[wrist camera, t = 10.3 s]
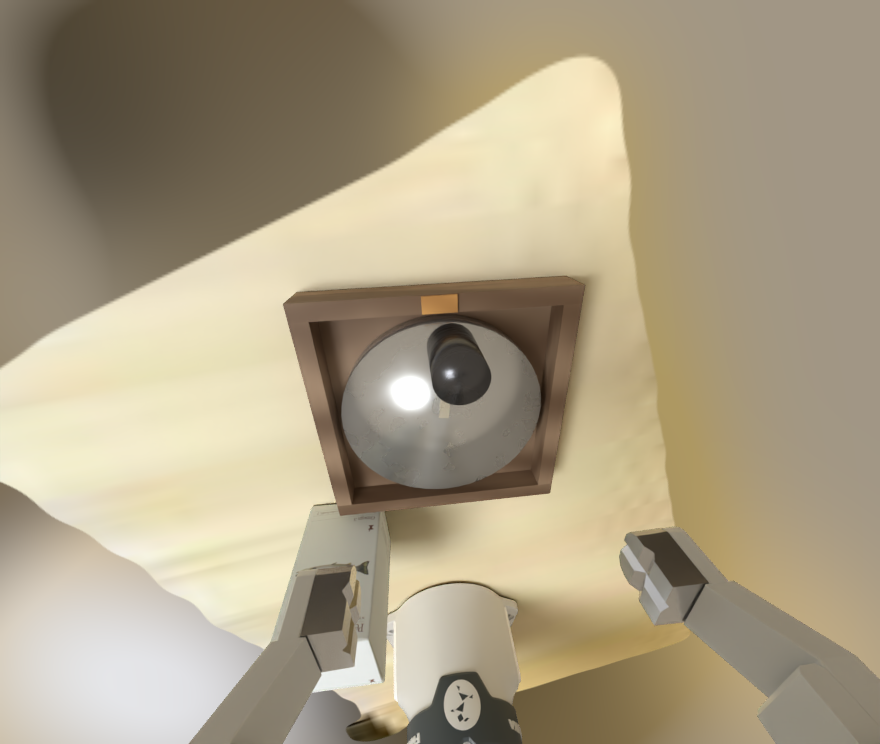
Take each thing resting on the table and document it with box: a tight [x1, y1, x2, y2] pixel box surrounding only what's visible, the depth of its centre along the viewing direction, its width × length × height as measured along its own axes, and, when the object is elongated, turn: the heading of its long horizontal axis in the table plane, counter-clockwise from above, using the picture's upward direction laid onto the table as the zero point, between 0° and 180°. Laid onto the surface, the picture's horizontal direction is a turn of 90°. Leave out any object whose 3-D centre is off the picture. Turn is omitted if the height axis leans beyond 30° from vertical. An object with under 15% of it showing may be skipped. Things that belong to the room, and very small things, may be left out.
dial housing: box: [283, 276, 585, 516], centre depth 27 cm, size 20×20×3 cm
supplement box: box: [271, 504, 391, 692], centre depth 30 cm, size 7×7×13 cm
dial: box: [341, 314, 541, 489], centre depth 25 cm, size 16×16×7 cm
